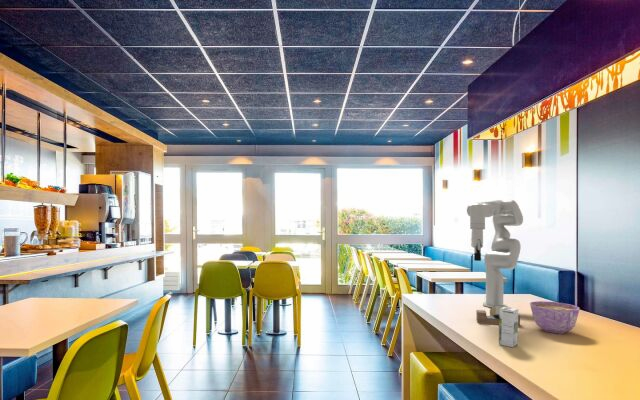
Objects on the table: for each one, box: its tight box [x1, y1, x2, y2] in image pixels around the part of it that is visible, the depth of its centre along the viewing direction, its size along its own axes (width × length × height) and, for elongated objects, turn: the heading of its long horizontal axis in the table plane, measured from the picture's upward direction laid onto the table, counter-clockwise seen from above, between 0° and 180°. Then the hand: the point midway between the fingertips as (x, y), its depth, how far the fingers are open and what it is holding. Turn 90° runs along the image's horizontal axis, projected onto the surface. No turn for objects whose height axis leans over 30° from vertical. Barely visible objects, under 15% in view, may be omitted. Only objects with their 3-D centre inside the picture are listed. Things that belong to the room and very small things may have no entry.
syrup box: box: [498, 306, 519, 348], centre depth 174 cm, size 6×6×14 cm
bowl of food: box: [529, 300, 580, 334], centre depth 198 cm, size 20×20×12 cm
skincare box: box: [489, 305, 509, 317], centre depth 215 cm, size 6×4×12 cm
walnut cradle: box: [475, 309, 521, 327], centre depth 211 cm, size 6×19×5 cm, turn 75°
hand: (477, 260), depth 234 cm, fingers closed
